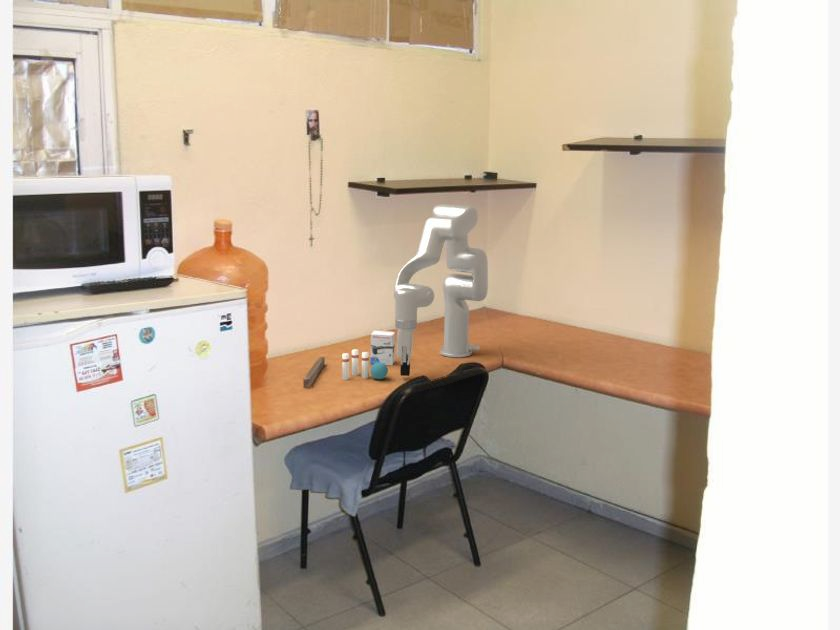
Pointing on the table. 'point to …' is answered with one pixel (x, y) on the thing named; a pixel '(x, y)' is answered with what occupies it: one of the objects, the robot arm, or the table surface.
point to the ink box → (383, 347)
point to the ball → (379, 370)
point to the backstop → (313, 372)
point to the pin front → (365, 365)
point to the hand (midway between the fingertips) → (405, 374)
